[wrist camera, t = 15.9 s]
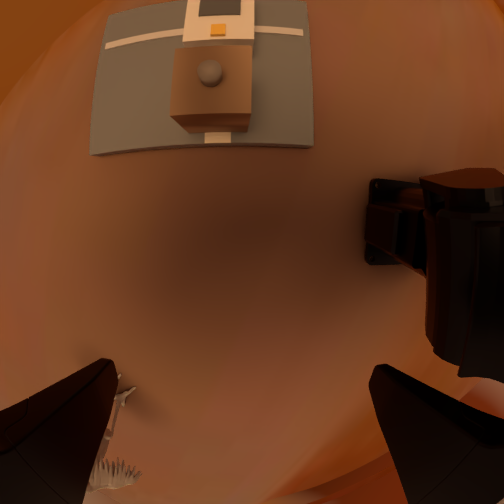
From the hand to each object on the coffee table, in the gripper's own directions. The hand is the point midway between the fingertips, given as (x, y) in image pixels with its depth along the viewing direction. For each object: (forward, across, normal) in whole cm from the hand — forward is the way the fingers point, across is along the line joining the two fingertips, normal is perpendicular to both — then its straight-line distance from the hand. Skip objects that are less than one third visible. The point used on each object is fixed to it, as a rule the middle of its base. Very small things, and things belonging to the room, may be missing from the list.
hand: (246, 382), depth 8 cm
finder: (+10, +2, -17) cm, 20 cm away
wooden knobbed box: (+10, +2, -11) cm, 15 cm away
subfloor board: (+12, +4, -14) cm, 19 cm away
